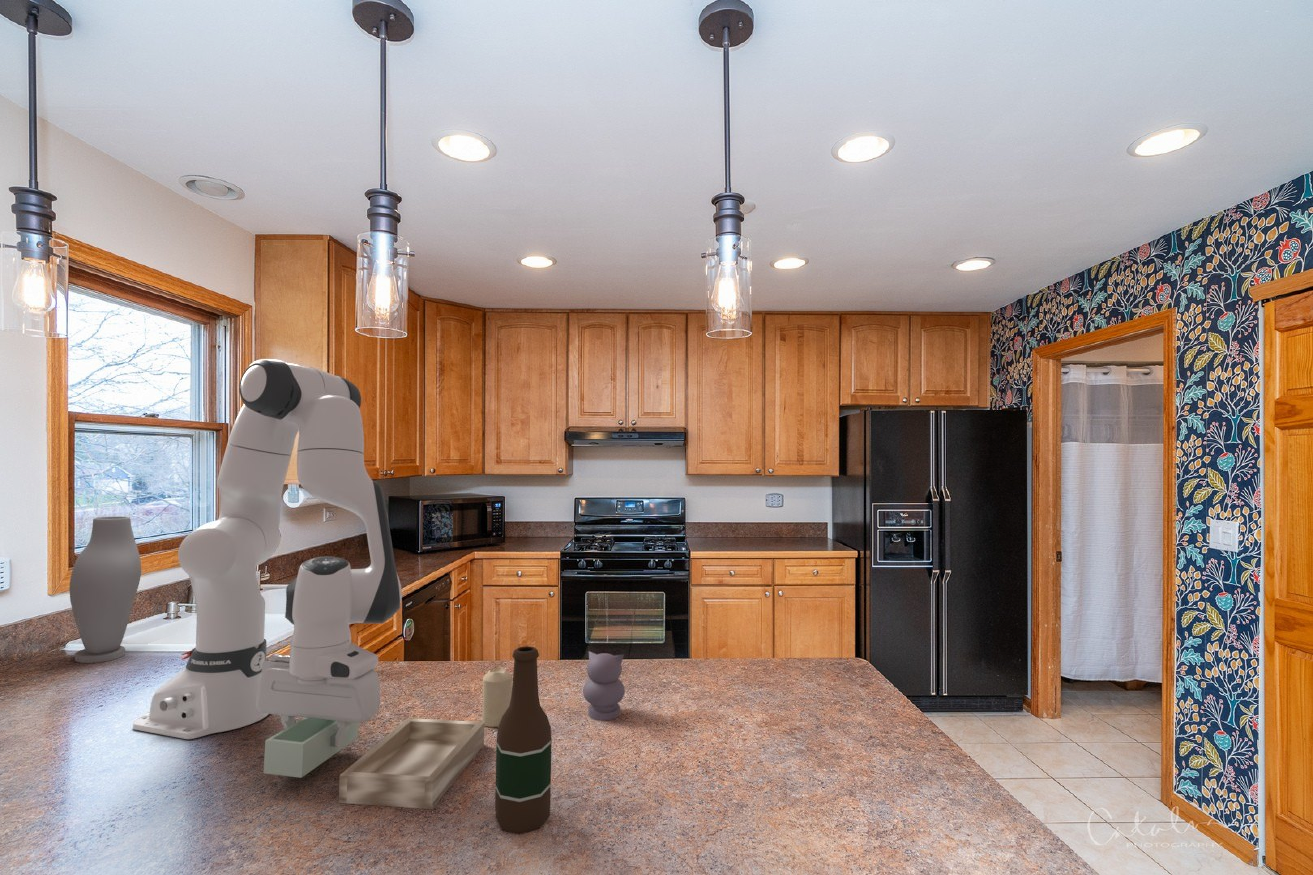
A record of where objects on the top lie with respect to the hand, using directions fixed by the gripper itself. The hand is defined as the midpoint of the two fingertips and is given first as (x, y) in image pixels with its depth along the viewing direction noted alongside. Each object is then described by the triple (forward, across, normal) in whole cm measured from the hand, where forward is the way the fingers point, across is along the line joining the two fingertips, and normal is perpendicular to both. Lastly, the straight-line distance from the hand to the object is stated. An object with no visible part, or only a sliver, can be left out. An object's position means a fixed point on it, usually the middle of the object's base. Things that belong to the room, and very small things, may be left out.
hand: (315, 743), depth 102 cm
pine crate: (+4, +17, +2) cm, 18 cm away
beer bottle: (+3, +39, -8) cm, 40 cm away
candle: (+4, +22, +22) cm, 32 cm away
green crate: (+2, 0, 0) cm, 2 cm away
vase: (+6, -90, +42) cm, 99 cm away
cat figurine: (+3, +42, +29) cm, 51 cm away
